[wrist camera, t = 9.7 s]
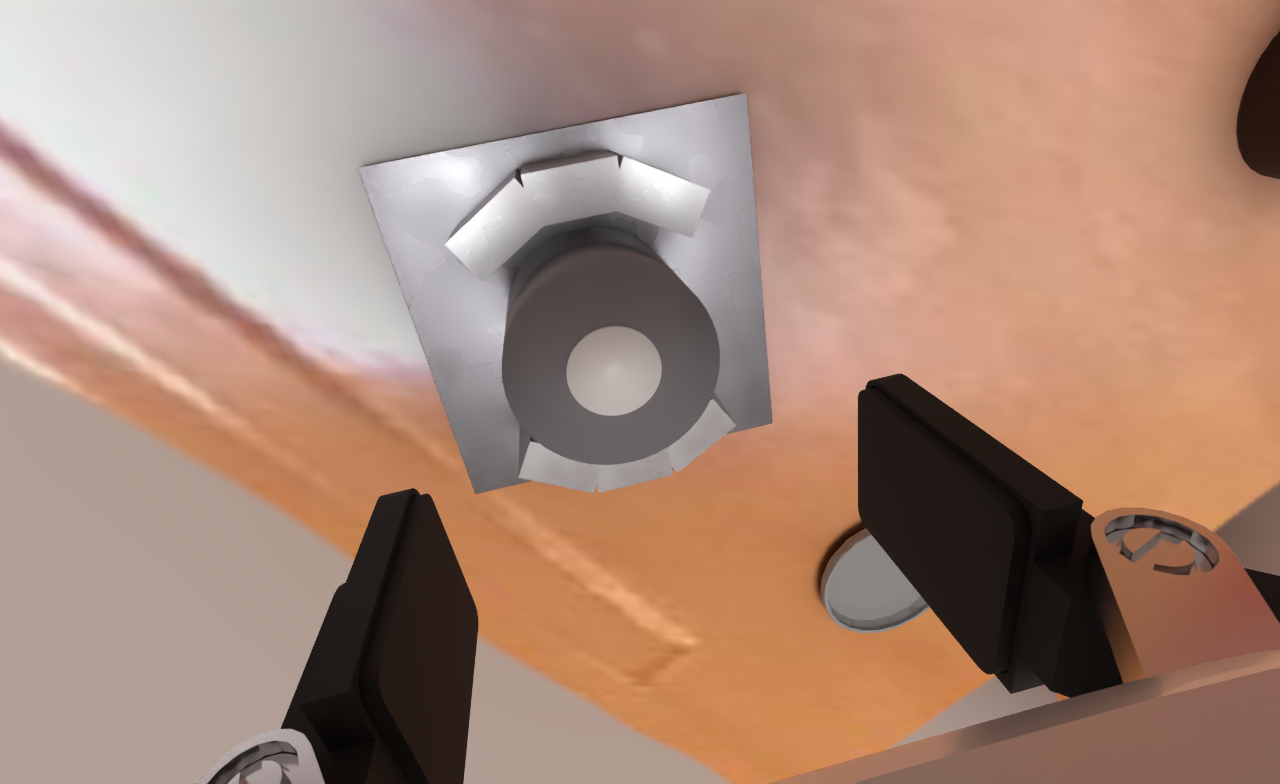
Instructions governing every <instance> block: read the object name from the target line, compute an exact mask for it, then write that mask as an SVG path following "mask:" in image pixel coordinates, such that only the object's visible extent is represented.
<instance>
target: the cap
mask: <svg viewBox="0 0 1280 784" xmlns="http://www.w3.org/2000/svg"><path fill="white" fill-rule="evenodd" d="M719 367H720V347H719V342H718V336H717V332H716V330H715V327H714V324H713V321H712V319H711V317H710V315H709V313H708V311H707V309H706V308H705V307H704V305H703V304H702V302H701V301H700V299H699V298H698V297H697V296H696V295H695V294H694V293H693V292H692V291H691V290H690V289H689V287H688V286H687V285H686V284H685V283H684V282H683V281H682V280H681V279H680V278H679V277H678V276H677V275H676V273H675V272H674V271H673V270H672V269H671V268H670V267H669V266H668V265H667V264H666V263H665V262H664V261H663V259H662V258H661V257H660V256H659V255H658V254H657V253H656V252H655V251H654V250H653V249H652V248H651V247H649V246H648V245H647V244H646V243H644V242H643V241H641V240H639V239H638V238H636V237H634V236H632V235H629V234H627V233H625V232H621V231H618V230H614V229H608V228H582V229H576V230H572V231H569V232H565V233H563V234H560V235H558V236H556V237H554V238H552V239H550V240H549V241H547V242H545V243H544V244H542V245H541V246H540V247H539V248H537V249H536V250H535V251H534V252H533V253H532V254H531V255H530V256H529V257H528V258H527V259H526V261H525V262H524V263H523V265H522V266H521V268H520V269H519V271H518V273H517V275H516V277H515V279H514V281H513V284H512V286H511V289H510V293H509V298H508V305H507V315H506V324H505V334H504V344H503V354H502V367H501V370H502V383H503V387H504V391H505V396H506V398H507V401H508V403H509V406H510V408H511V410H512V412H513V414H514V416H515V417H516V419H517V421H518V422H519V423H520V425H521V426H522V427H523V428H524V430H525V431H526V432H527V433H528V434H529V435H530V436H531V437H532V438H533V439H534V440H536V441H537V442H538V443H540V444H541V445H542V446H543V447H545V448H547V449H548V450H550V451H552V452H554V453H555V454H558V455H560V456H562V457H565V458H567V459H570V460H574V461H577V462H581V463H587V464H594V465H615V464H624V463H629V462H634V461H637V460H641V459H644V458H647V457H649V456H651V455H654V454H656V453H658V452H660V451H662V450H664V449H665V448H667V447H669V446H670V445H672V444H673V443H675V442H676V441H677V440H679V439H680V438H681V437H682V436H683V435H685V434H686V433H687V432H688V431H689V430H690V429H691V428H692V427H693V426H694V424H695V423H696V422H697V421H698V420H699V418H700V417H701V415H702V414H703V412H704V411H705V409H706V408H707V406H708V404H709V402H710V400H711V398H712V395H713V393H714V390H715V387H716V384H717V379H718V375H719Z"/></svg>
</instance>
